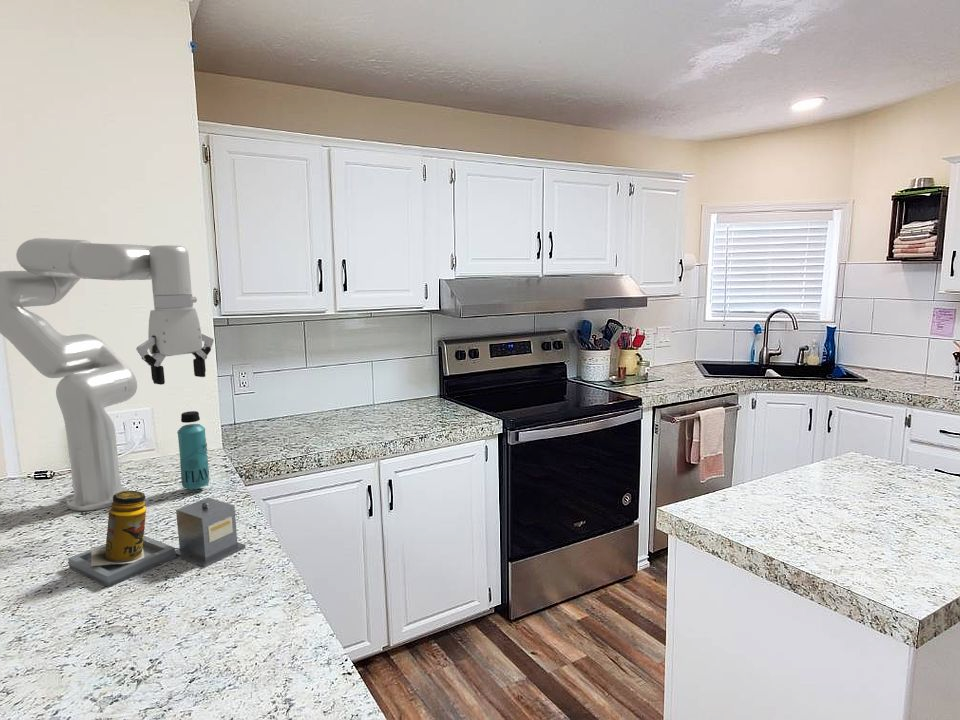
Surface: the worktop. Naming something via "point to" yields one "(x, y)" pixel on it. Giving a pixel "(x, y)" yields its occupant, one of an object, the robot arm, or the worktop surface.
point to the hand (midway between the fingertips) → (180, 380)
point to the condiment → (123, 530)
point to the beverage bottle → (193, 452)
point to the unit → (207, 532)
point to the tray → (120, 572)
